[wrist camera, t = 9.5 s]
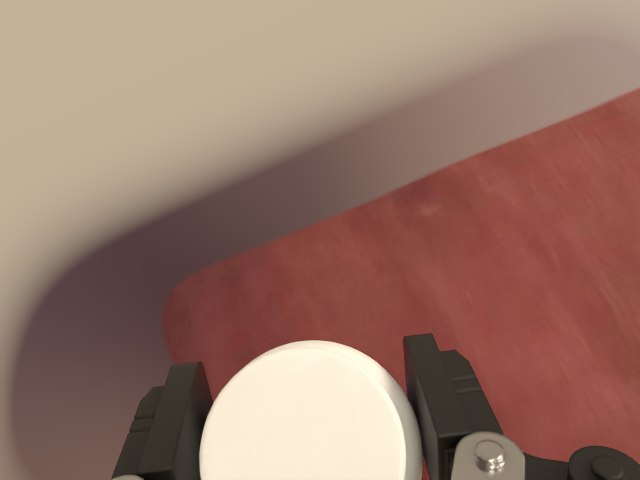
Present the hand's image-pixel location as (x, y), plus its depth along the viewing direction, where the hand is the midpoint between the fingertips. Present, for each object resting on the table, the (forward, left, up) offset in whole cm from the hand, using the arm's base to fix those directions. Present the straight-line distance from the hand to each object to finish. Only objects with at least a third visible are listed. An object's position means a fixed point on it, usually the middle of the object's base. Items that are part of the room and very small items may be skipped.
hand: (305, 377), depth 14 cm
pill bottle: (0, -2, -5) cm, 6 cm away
